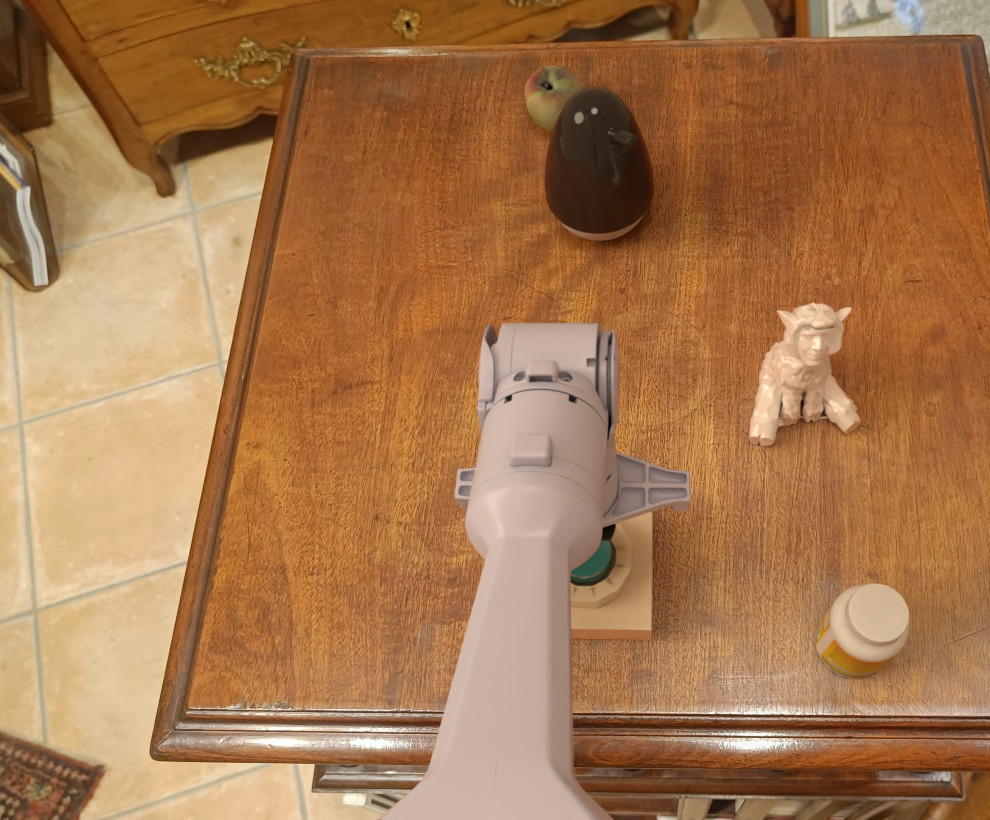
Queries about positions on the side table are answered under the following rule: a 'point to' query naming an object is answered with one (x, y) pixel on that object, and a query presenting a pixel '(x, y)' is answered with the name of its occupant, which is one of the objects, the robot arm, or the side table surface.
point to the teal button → (594, 565)
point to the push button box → (619, 588)
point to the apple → (549, 93)
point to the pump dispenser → (598, 167)
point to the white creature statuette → (802, 375)
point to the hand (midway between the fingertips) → (581, 532)
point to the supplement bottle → (863, 630)
